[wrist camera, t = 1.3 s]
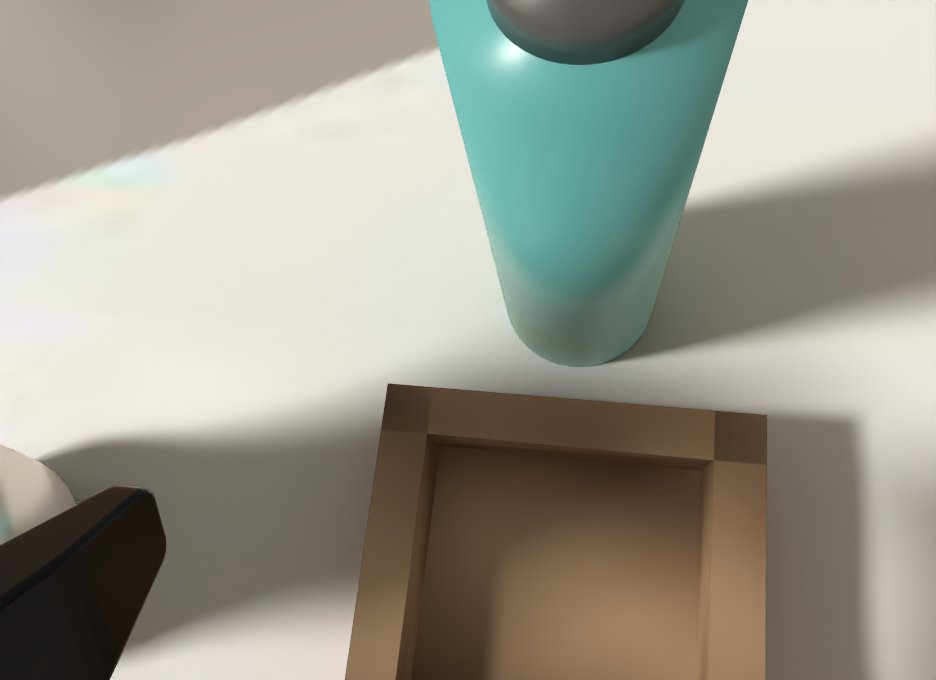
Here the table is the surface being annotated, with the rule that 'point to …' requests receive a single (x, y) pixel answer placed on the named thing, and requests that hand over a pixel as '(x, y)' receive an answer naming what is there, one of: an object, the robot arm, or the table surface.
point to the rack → (562, 541)
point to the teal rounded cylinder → (583, 151)
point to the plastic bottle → (28, 494)
